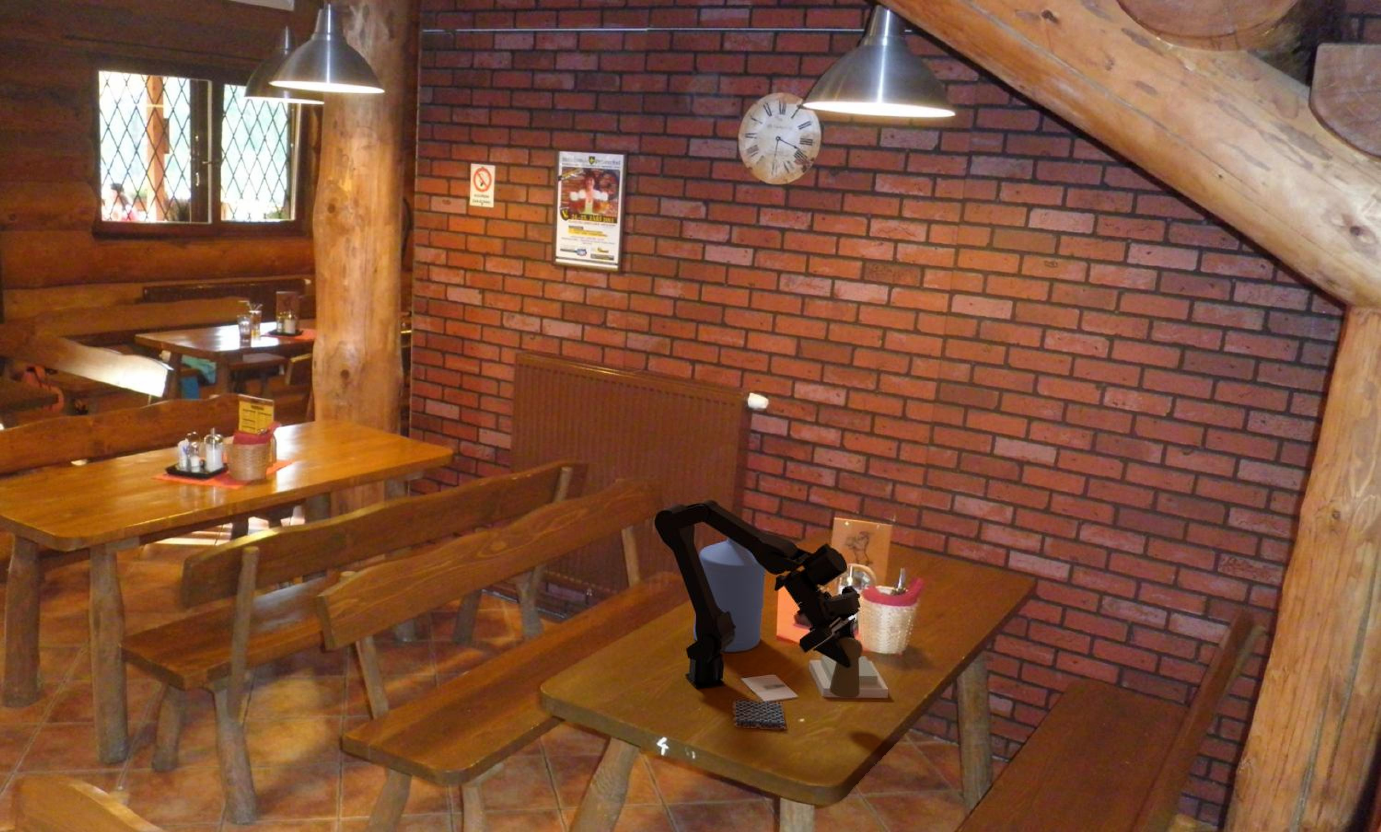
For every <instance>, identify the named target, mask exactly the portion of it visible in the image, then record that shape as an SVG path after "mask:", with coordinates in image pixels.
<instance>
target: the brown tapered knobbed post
mask: <svg viewBox="0 0 1381 832" xmlns="http://www.w3.org/2000/svg"><path fill="white" fill-rule="evenodd" d="M839 643H840V644H841V646H842V648H843V650H844V652H845V653H846V655H847V657H848V659H849V661H850V663H851V667H849V668H846V667H844V666H842V665H841V664H839V663H837V662H836V665H835V669H834V673H833V677H832V681H831V685H830V692H831V693H832V694H834V695H836V696H839V697H838V698H844V699H853V698H854V697H857V696H858V695H859V694H860V689H859V657H860V656H862V653H863V651H864V650H863V649H864V648H863V645H862V642H861V641H860V640H859V639H856V638H855V639H854V638H849V637H846V638H841V639H840V640H839Z"/></svg>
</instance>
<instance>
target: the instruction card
mask: <svg viewBox="0 0 1381 832" xmlns="http://www.w3.org/2000/svg"><path fill="white" fill-rule="evenodd" d="M740 679H741V682H743V683H744V684H745V685H746V686H747V687H748V689H750V690H751V691H752V692H753V693H754V694H755V695H756V696H757V697H758V698H759V699H760V701H761V702H762V703H763V702H767V701H768V702H769V703H770V702H774V701H776V702H778V701H785V700H792V699H798V698H799V696H798V695H797V694H796V693H795V692H794V691H793V690H792V689H791V688H790V687H789V686H788V685H787V684H786V683H785V682H784V681H782V680H781V679H780V678H779V677H778V676H776V675H775V674H768V675H766V674H765V675H761V676H752V677H751V676H750V677H745V678H743V677H742V678H740Z"/></svg>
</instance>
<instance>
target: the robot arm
mask: <svg viewBox="0 0 1381 832" xmlns="http://www.w3.org/2000/svg"><path fill="white" fill-rule="evenodd" d="M700 523H705V524H706V525H707V526H709V527H711V528H712V529H714V530H716V531H717V532H719V533H720V534H722V535H723V536H725V537H726V538H727V539H728V538H730V539H731V540H733V541H734V542H736V543H737V544H739V545H741V546H742V547H744V548H745V549H747V550H748V551H749V552H751V553H752V555H753V556H754V558H755V559H756V561H757V562H758V563H759V564H760V565H761V566H762V567H763V568H765V569H766V572H768V573H770V574H771V575H775V576H776V577H775V584H774V587H773V588H774V589H773V590H774V591H775V592H778V591H779V590H781V589H782V588H783V587H784V588H785V590H786V591H787V593H788V594H789V596H790V597H791V598H792V600H793V601H794V603H795V604H796V605H797V607H798V609H799V610H797V611H796V613H797V614H798V616H799V617H800V616H802V615H803V616H804V617H805V619H806V620H807V621H808V623H809V625H810V627H809V628H808V630H809V631H808V632H807V633H805V634H804V635H803V636H802V637H800V639H799V644H798V646H799V648H800V650H802V652H803V654H806V653H808V652H810V651H811V650H812V651H813V652H817V653H819V654H821V655H822V656H827V657H829V658H831V659H832V660H834V661H836V662H837V663H839V664H841V665H842V666H844V667H846V668H849V667H851V663H850V661H849V659H848V657H847V655H846V653H845V652H844V650H843V648H842V646H841V644H840V643H839V640H840V639H841V638H846V637H849V638H854V639H856V637H855V633H854V624H855V621H856V617H854V616H855V615H857V613H859V612H860V608H861V604H860V601H859V599H860V598H861V594H860V593H858V590H856V589H855V587H854V586H853V585H847V586H844V587H842V589H841V593H838V594H837V595H831V593H830V592H829V591H827V590H825V591H824V592H823V590H822V589H821V588H820V586H822V587H825V586H827V585H828V584H829V583H832V582H834V580H836V579H837V578H839V577H840V576H842V575H843V574H844V573H846V572H847V570H848V564H847V561H846V559H845V557H844V556H843V554H842V553H841V552H839V551H838V550H837V549H835V548H834V547H831V546H830V545H829V544H828V543H827V542H826V543H824V544H823V545H821V546H820V547H819V548H817V550H816V551H814V552H813V553H812V552H810V551H808V550H805V549H802V548H799V547H797V545H796V544H795V543H794V542H793V541H791V540H788V539H787V538H784V537H781V536H778V535H776V534H770V533H766V532H765V531H764V532H763V531H761V530H760V529H758V528H756V527H755V526H753V525H752V524H750V523H748V522H747V521H745V520H743V518H740V517H738V515H737V516H736V514H734V513H732V512H731V511H729V510H728V509H726V508H724V507H722V506H721V505H720V504H719V503H718V501H716V500H713V499H705V500H704V501H701V502H696V503H692V504H691V503H690V504H688V505H684V504H682V503H674V504H673V505H670V506H669V507H666V508H663V509H662V510H661V511H658V512H657V514H656V515H655V517H654V520H653V524H654V528H655V529H656V532H657V534H658V536H659V538H660V539H661V541H662V543H664V545H666V546H667V547H668V548H669V549H670V550H671V552H672V553H673V556H674V559H675V561H676V564H677V567H678V570H679V573H680V575H681V577H682V580H683V584H684V585H685V588H686V592H687V594H688V597H689V600H690V602H691V605H692V607H693V610H694V615H695V614H696V621H695V620H694V625H695V633H696V638H697V641H695V642H693V643H692V644H690V645H689V646H687V647H686V648H685V651H686V656H687V658H688V659H689V669H688V672H687V673H685V678H686V679H687V680H688V681H689V682H690V683H691V684H692V685H693V687H694V688H695V689H704V688H714V687H719V686H724V685H725V682H724V681H723V679H724V669H725V661H724V660H723V658H724V655H723V654H722V652H723V651H724V650H725V649H726V647H727V646H728V645H730V644H731V643H732V642H733V640H734V637H735V630H734V629H735V628H736V626H735V625H734V623H733V621H732V618H731V614H730V612H729V611H726V612H723V611H722V610H721V609H720V608H718V606H717V604H716V602H715V599H714V596H713V594H712V591H711V588H710V586H709V583H708V580H707V577H706V575H705V572H704V569H703V566H702V564H701V561H700V558H699V556H700V554H699V552H698V550H697V547H696V545H695V531H696V530H695V529H696V527H695V525H697V524H700ZM801 567H802V568H803V569H802V570H798V569H799V568H801ZM785 572H788V573H786V574H785V575H784V574H783V573H785ZM782 574H783V575H782ZM852 616H853V618H851V617H852ZM850 618H851V619H850ZM861 656H862V655H861ZM861 656H860V657H861ZM860 657H859V658H860Z"/></svg>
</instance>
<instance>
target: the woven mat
mask: <svg viewBox="0 0 1381 832" xmlns="http://www.w3.org/2000/svg"><path fill="white" fill-rule="evenodd" d="M732 702H733V703H732V713H733V714H734V718H733V721H734V722H733V725H734V727H736V728H742V729H745V728H746V729H758V730H759V729H762V730H763V729H764V730H778V731H779V730H781V731H785V730H787V727H786V726H785V725H786V719H785V714H784V712H785V711H784V709H783V704H782V703H781V702H777V701H771V702H768V701H767V702H763V701H761V699H760V700H758V701H757V700H755V701H754V700H753V699H751V700H746V699H742V700H741V699H740V700H739V701H738V698H735V700H734V701H732Z"/></svg>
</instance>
